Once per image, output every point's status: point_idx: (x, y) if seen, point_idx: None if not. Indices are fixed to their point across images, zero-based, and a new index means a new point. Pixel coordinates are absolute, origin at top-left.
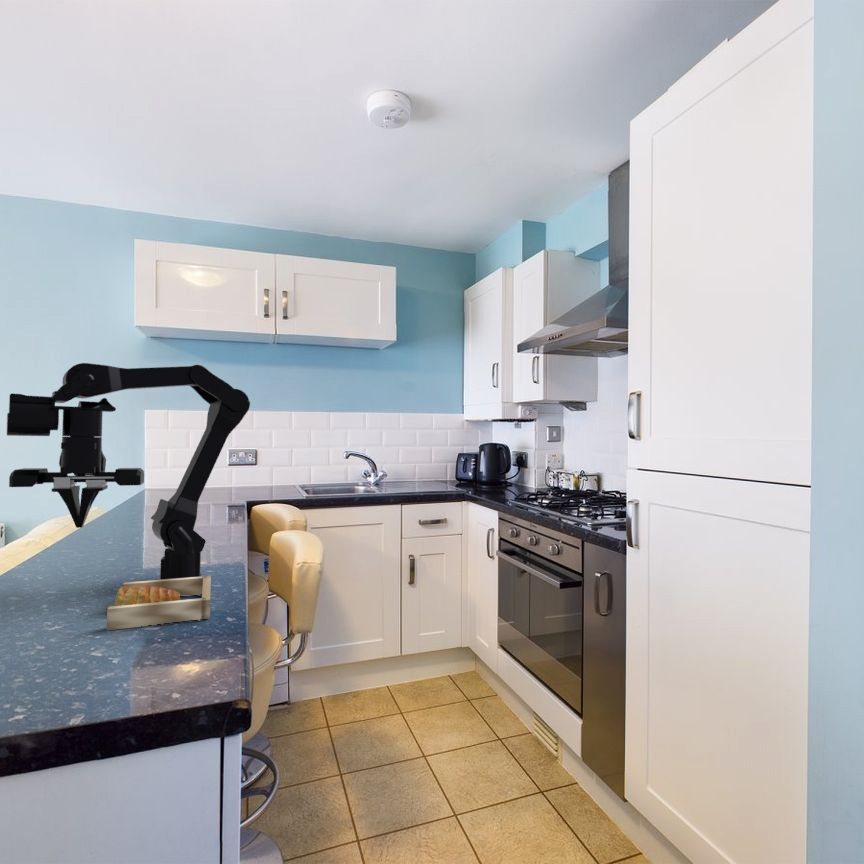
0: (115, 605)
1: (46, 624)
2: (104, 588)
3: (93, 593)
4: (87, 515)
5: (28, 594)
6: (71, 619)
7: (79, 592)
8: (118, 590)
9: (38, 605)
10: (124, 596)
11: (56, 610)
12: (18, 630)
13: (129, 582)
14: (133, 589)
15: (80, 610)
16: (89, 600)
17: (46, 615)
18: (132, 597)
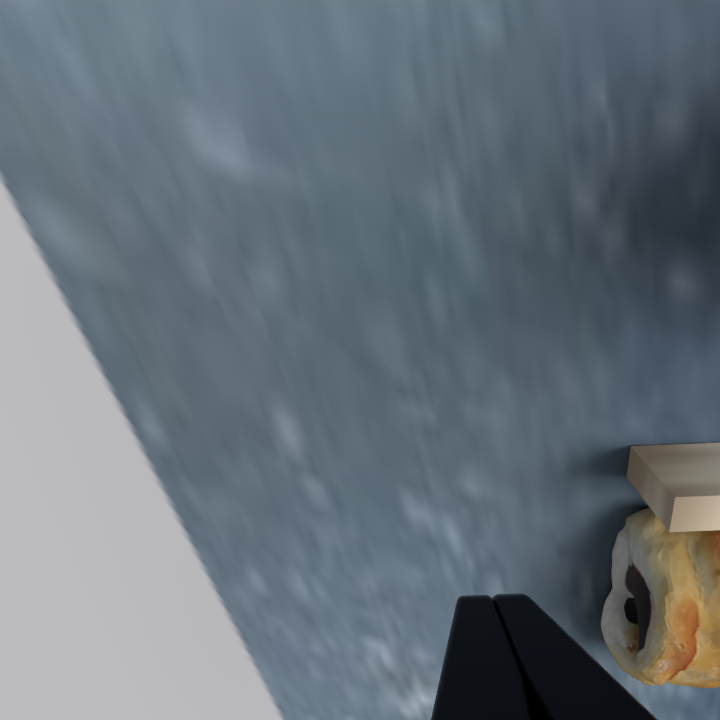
0: (621, 667)
1: (378, 665)
2: (517, 158)
3: (471, 263)
4: (639, 709)
5: (105, 170)
6: None
7: (389, 214)
8: (654, 666)
9: (255, 416)
10: (670, 680)
11: (363, 514)
12: (304, 697)
13: (704, 502)
14: (718, 649)
15: (463, 540)
16: (474, 398)
17: (343, 568)
18: (700, 686)
